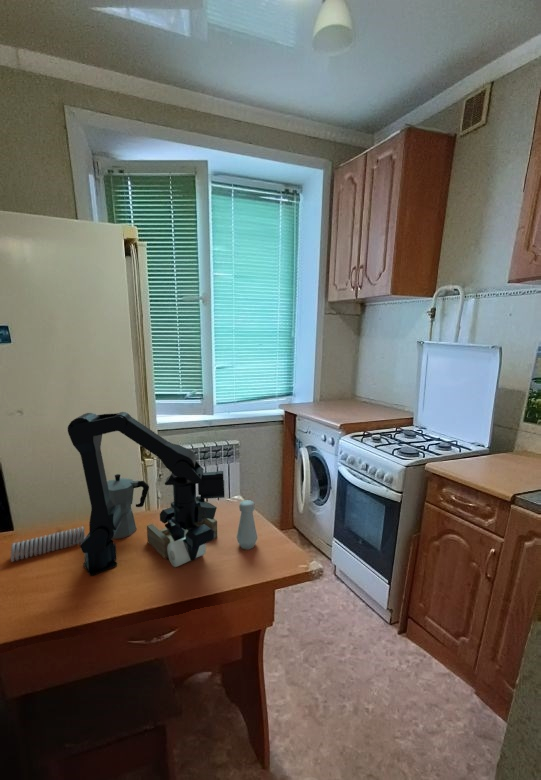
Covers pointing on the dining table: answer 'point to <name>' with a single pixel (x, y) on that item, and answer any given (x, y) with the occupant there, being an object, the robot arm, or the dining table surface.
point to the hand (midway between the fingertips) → (186, 554)
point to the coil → (47, 543)
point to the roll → (181, 552)
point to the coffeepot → (126, 502)
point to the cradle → (163, 537)
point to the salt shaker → (247, 525)
